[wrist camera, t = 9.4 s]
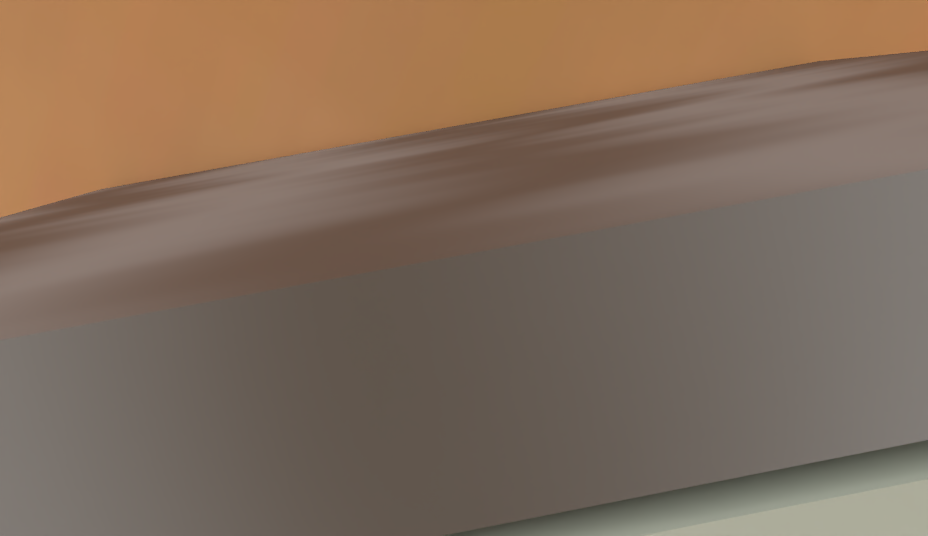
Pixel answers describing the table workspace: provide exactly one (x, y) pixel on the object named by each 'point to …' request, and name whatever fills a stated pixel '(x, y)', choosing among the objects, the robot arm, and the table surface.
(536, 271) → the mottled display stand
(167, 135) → the table surface
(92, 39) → the table surface
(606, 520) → the mini block
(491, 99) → the table surface
